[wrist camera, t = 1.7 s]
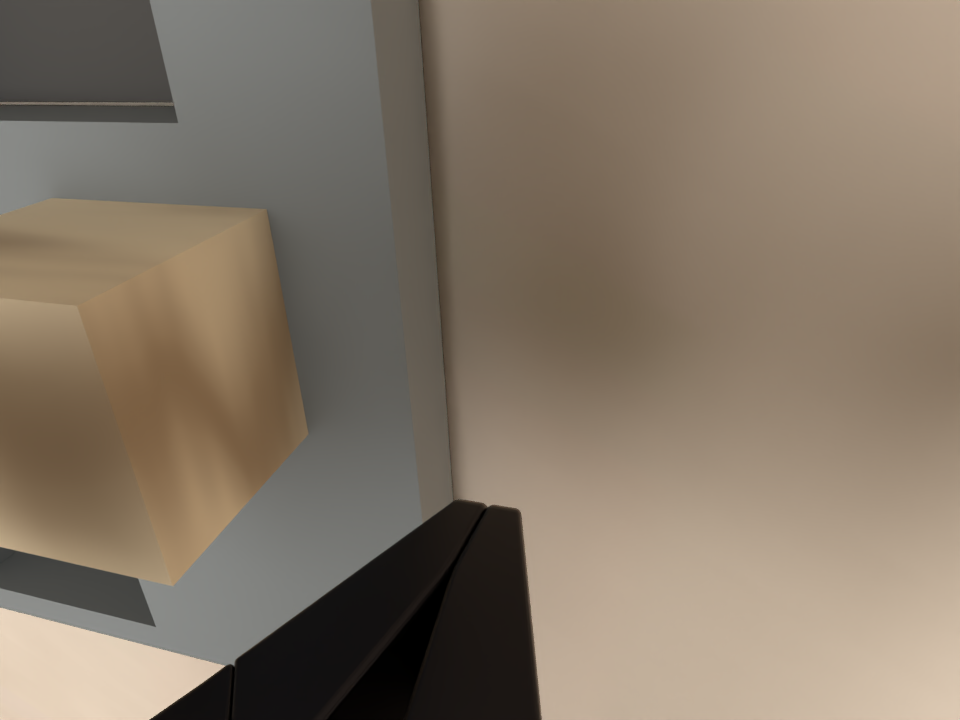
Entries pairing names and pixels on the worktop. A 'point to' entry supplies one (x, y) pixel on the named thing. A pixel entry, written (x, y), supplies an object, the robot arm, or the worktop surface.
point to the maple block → (139, 380)
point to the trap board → (300, 260)
